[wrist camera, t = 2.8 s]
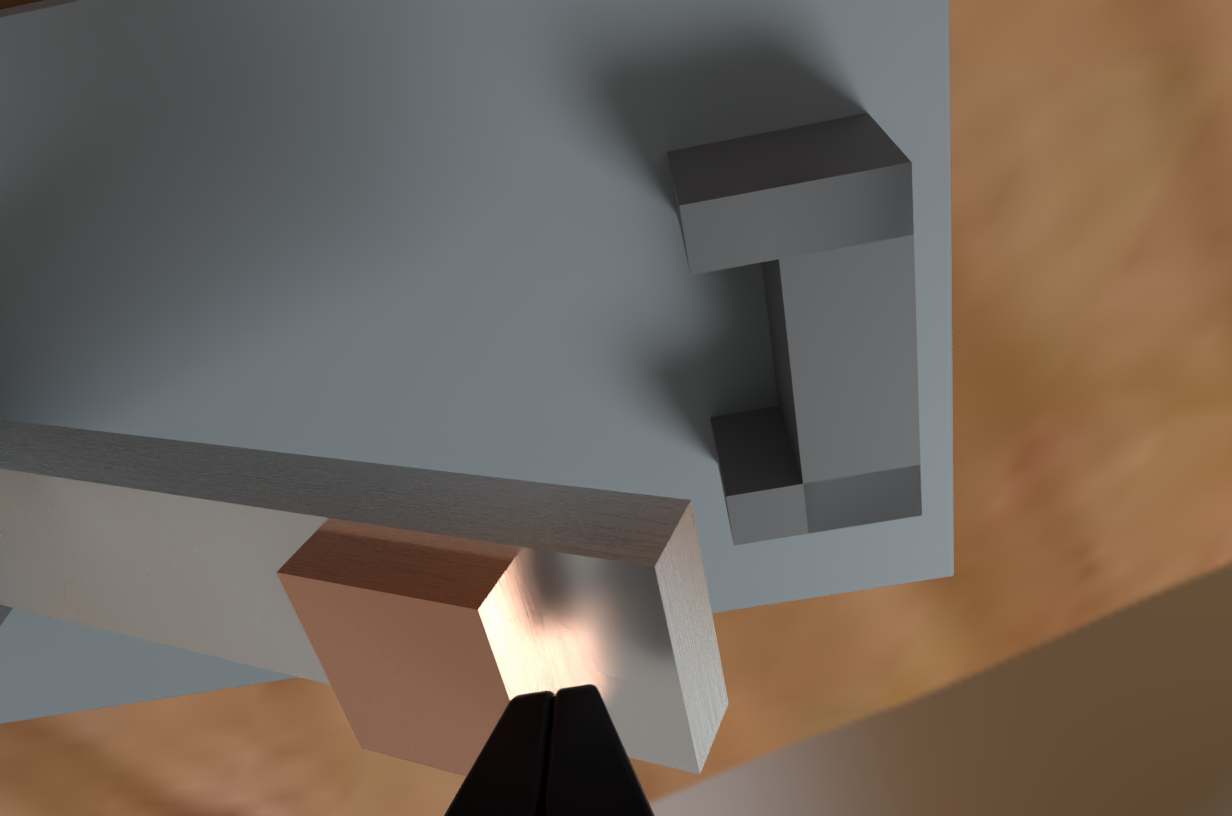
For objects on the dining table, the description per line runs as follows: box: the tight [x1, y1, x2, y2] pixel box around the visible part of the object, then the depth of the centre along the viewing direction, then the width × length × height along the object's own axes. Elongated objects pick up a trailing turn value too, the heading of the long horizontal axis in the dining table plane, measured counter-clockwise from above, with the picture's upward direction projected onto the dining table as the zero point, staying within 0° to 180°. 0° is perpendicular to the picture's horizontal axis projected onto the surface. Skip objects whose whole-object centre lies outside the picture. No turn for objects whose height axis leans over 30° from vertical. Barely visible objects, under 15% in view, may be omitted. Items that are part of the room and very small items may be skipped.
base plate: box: [0, 0, 954, 724], centre depth 16 cm, size 20×13×4 cm, turn 101°
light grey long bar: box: [0, 420, 728, 777], centre depth 13 cm, size 15×3×2 cm, turn 100°
